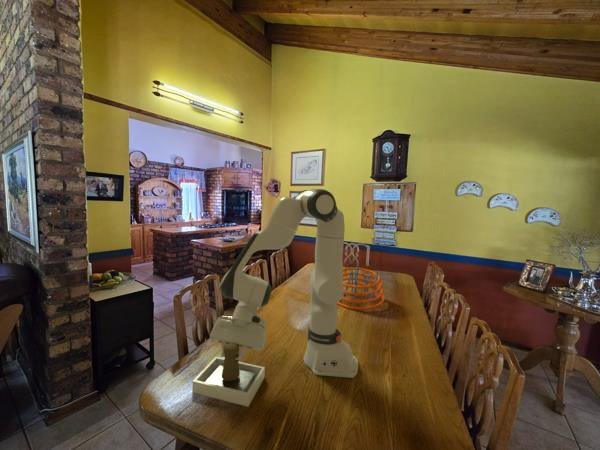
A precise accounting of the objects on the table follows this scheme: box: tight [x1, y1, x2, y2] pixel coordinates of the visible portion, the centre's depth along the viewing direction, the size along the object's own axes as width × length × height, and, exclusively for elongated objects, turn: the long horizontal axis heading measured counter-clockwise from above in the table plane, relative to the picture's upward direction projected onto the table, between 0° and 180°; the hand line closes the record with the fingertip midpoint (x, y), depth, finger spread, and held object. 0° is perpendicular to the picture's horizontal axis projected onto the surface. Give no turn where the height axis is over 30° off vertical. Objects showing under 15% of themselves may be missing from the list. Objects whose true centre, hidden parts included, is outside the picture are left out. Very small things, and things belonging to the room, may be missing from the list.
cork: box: [222, 343, 240, 381], centre depth 90 cm, size 6×6×11 cm
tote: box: [192, 356, 266, 408], centre depth 90 cm, size 20×14×5 cm
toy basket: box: [337, 263, 386, 311], centre depth 175 cm, size 34×35×24 cm
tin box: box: [206, 365, 255, 392], centre depth 90 cm, size 14×10×2 cm
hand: (230, 358), depth 89 cm, fingers closed on cork, 4 cm apart
